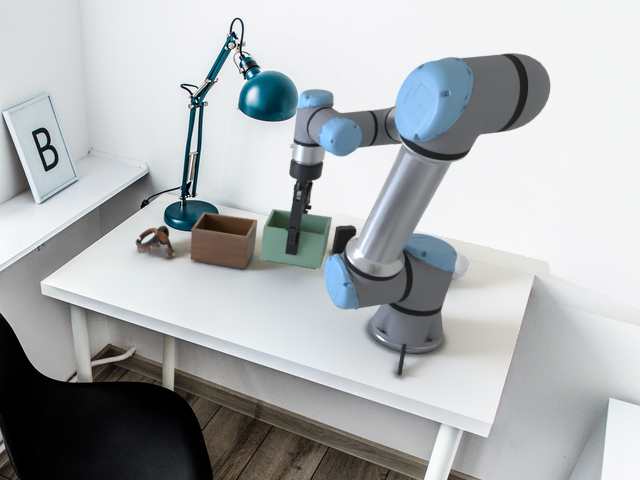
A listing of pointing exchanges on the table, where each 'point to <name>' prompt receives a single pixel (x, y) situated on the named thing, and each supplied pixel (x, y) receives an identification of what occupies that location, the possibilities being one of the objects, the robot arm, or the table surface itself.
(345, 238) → the ink cartridge
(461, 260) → the puffin
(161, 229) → the brown headphones
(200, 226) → the bottom basket
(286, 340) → the table surface
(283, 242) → the box
